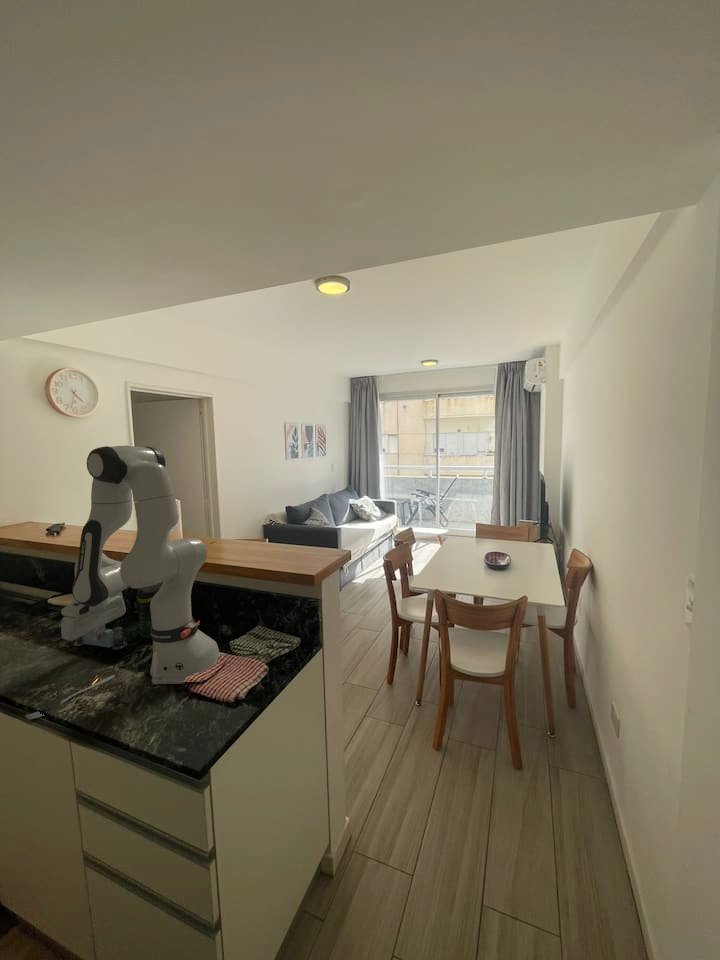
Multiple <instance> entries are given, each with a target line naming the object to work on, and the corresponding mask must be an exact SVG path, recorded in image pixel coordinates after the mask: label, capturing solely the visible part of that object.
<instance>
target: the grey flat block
mask: <svg viewBox="0 0 720 960" xmlns="http://www.w3.org/2000/svg"><path fill="white" fill-rule="evenodd" d="M97 631H98V628H97ZM97 631H96V632H95V633H96V634H97ZM113 631H114V629H110V628H105V629H104V632H103V638H101V639H99V640H98V641H93V640H92V636H91V635H90V634H89V633H87V634H85V635H83V636H82V642H83V644H84V645H91V646H95V647H102V648H103V647H104V648H111V647H113V646H114V645H115V644H114V638H113Z"/></svg>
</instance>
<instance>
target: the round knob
mask: <svg viewBox="0 0 720 960" xmlns="http://www.w3.org/2000/svg"><path fill="white" fill-rule="evenodd" d="M84 645H85V644H83V642H82V636H81V637H79V638H77V639H76V641H75V642H73V647H81V646H84Z"/></svg>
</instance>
